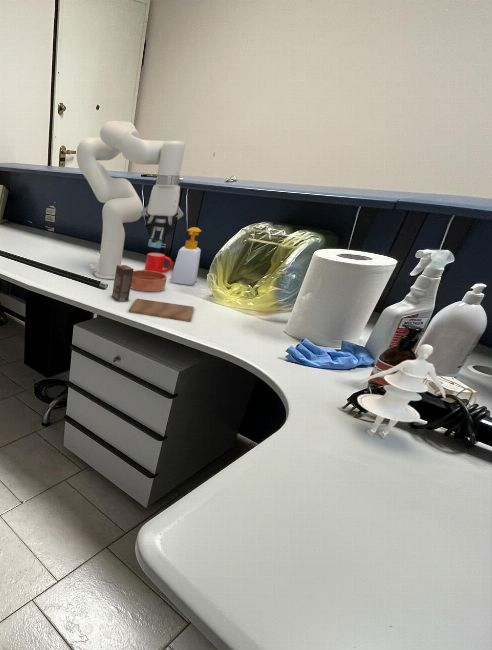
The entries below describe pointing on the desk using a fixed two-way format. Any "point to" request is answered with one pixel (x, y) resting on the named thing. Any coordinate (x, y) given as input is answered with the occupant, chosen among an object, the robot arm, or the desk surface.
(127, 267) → the box
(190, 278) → the soap bottle
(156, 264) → the mug
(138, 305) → the cork mat
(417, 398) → the figurine
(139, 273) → the bowl
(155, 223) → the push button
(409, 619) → the desk surface
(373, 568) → the desk surface
